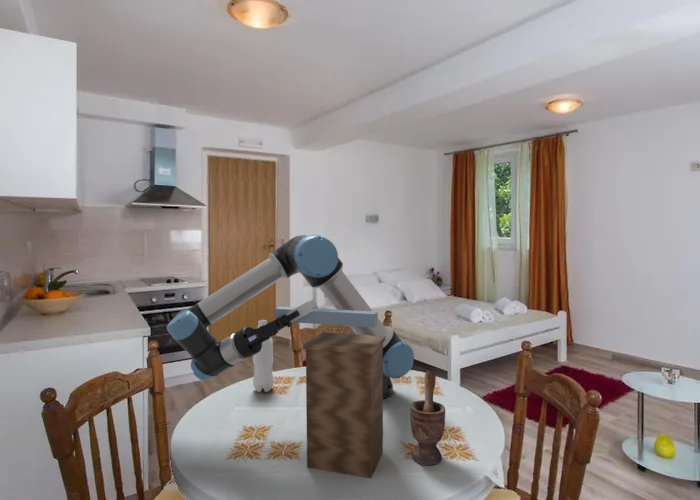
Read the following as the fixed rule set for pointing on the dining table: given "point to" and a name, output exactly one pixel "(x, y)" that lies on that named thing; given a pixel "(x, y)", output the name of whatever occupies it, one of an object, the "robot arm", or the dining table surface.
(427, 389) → the mortar and pestle
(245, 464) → the dining table surface
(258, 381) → the water bottle
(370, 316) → the bar
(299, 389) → the dining table surface
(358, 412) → the stand
